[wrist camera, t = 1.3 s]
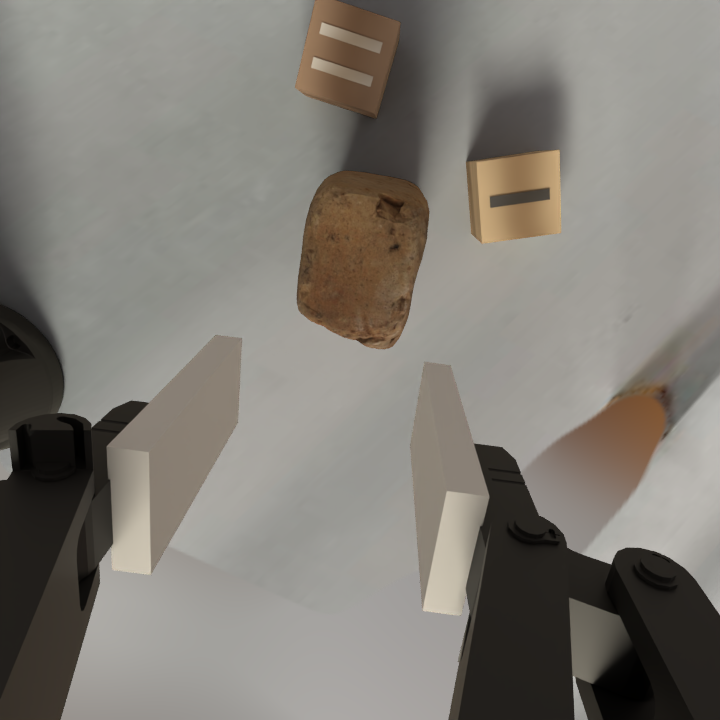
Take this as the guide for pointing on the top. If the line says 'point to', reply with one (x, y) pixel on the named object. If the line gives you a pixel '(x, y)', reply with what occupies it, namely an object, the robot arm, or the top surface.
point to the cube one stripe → (514, 196)
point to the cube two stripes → (347, 56)
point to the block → (362, 256)
